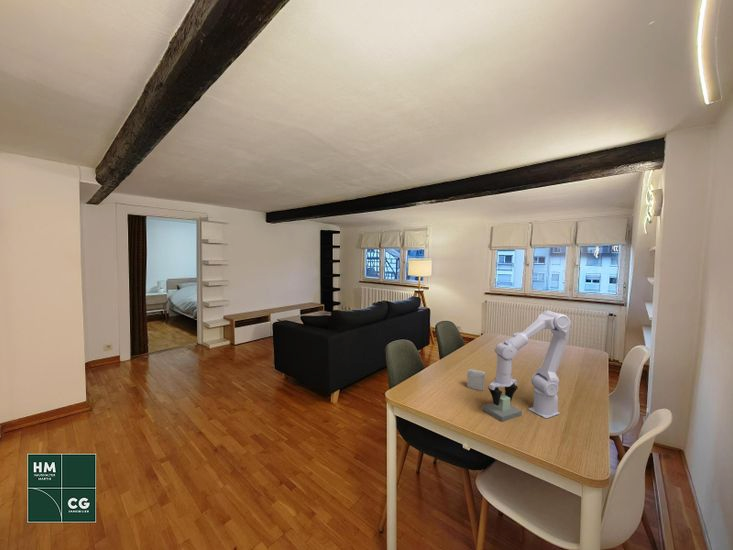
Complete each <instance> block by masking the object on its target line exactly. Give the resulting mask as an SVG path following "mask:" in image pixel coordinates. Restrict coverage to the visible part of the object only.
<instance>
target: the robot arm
mask: <svg viewBox="0 0 733 550" xmlns="http://www.w3.org/2000/svg"><path fill="white" fill-rule="evenodd" d="M571 324H572V321H571V319H570V317H568V316H567V315H566V314H563V313H559V312H554V311H552V310H549V309H548V310H544V311H543V312H542V313H539V315H538V317H537V319H535V320H534V321H533V322H532V323H531V324H530V325H529V326H528V327H526V328H525V329H523V331H522V332H518V331H517V332H514V333H513V334H512V336H510V337H509V338H507V339H506V340H504V342H499V343H498V344H496V347H495V348H494V352H495V353H496V373H495V378H493V381H492V382H491V383H488V384H489V386H488V390H489V392H490V394H491V398H492V403H494V404H495V405H497V406H498V405H499V401H500V396H501V394H503V391H502V390H500V389H499V388H504V395H505V396H507V397H509V398H510V403H511V402H512V400H513V397H514V394H515V393H516V391H517V390H518V386H517V381H518V380H517V378H512V367H513V363H512V362H513V359H515V357H516V356H517V355H516V354H517V353H518V351H520V350H521V349H522V348H523V347H525V346H526V345H527V344H528V343H529V339H530V338H532V337H533V336H535V335H536V334H538V333H540V332H541V331H543V330H544V329H546V330H550V331H551V334H552V337H551V340H550V343H549V345H548V349H547V350H546V351H547V352H546V353H545V356H544V360H543V362H542V365H541V367H540V368H538V369H536V370H535V373H534V374H533V375H532V377H531V379H530V383H531V384H532V386H533V389H534V390H533V403H532V406H531V407H528V410H529V411H531V412H533V413H535V414H536V415H538V416H540V417H542V418H544V419H549V418H551V417H554V416H557V415H560V414H561V413H560V412H559V411H558V408H559V407H558V406H559V397H558V393H559V389H560V388H559V383H560V379H559V377H558V375H557V373H558V369H559V367H560V363H561V360H562V358H563V354H564V352H565V349H566V346H567V344H568V341H569V338H570V327H571Z"/></svg>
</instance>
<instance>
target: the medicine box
mask: <svg viewBox="0 0 733 550" xmlns="http://www.w3.org/2000/svg"><path fill="white" fill-rule="evenodd" d="M466 379H467V382H466V383H467V384H466V388H468V389H471V390H472V389H473V390H478V391H482V392H484V390H485V384H486V383H485V382H486V372H485V371H483V370H479V369H478V370H477V369H472V368H470V369H468V370H467V378H466Z"/></svg>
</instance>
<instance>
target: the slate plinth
mask: <svg viewBox="0 0 733 550" xmlns="http://www.w3.org/2000/svg"><path fill="white" fill-rule="evenodd" d="M481 409H482V411H484V412H486V414H488V415H490V416H492V417H493V418H495V419H496V420H498V421H500V422H505V421H509V420H512V419H515V418H518V417H522V415H523V413H522V412H523V410H521V409H519V408H517V407H515V406H514V405H512V404H510V409H509V410H506V411H503V412H502V411H501V410H499V409H497V408H495V407H494V403H493V402H491V403H486V404H483V405H482V407H481Z"/></svg>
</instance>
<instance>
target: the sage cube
mask: <svg viewBox="0 0 733 550" xmlns="http://www.w3.org/2000/svg"><path fill="white" fill-rule="evenodd" d="M510 405H511V402H510V398H509V397H507V396H505V393H504V394H503V393H502V394H501V396H500V401H499V405H498V406H497V405H495V404H494V407H495V408H497V409H499V410H501V411H502V412H503V411H506V410H509V409H510Z"/></svg>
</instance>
